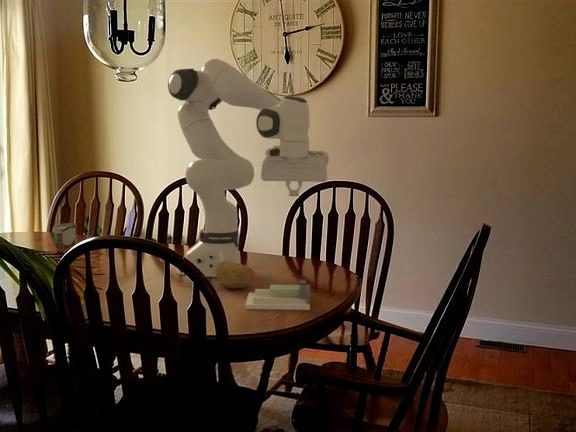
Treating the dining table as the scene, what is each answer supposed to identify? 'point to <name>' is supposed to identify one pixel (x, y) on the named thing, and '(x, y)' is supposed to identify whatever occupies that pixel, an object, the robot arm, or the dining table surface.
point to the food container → (65, 235)
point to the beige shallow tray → (279, 299)
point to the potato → (234, 274)
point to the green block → (285, 291)
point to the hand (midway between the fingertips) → (293, 195)
